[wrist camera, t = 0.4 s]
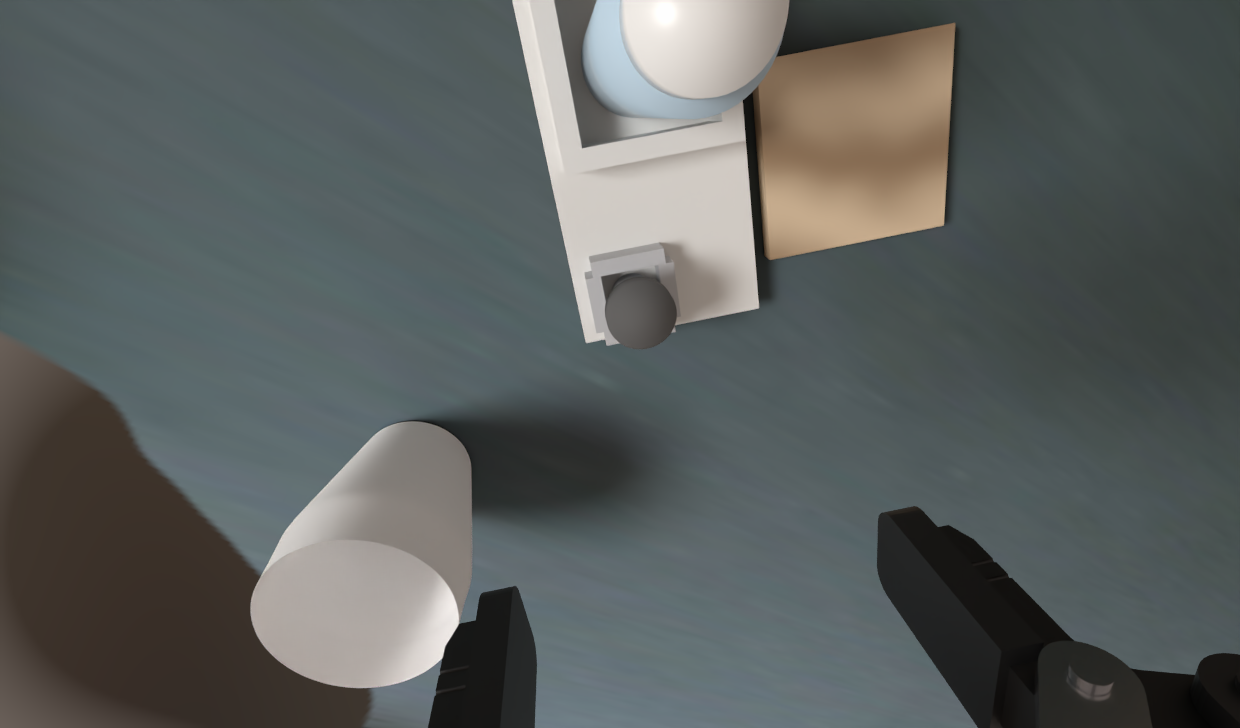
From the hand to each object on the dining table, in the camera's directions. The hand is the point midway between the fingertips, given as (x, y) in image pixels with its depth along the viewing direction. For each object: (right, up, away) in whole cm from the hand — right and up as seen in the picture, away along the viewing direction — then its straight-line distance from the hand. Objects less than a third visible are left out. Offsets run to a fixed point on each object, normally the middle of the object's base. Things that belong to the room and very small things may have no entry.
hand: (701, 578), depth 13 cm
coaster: (+10, +16, +19) cm, 27 cm away
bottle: (-1, +19, +14) cm, 24 cm away
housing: (-1, +16, +18) cm, 24 cm away
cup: (-15, -2, +24) cm, 28 cm away
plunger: (-1, +8, +18) cm, 20 cm away
